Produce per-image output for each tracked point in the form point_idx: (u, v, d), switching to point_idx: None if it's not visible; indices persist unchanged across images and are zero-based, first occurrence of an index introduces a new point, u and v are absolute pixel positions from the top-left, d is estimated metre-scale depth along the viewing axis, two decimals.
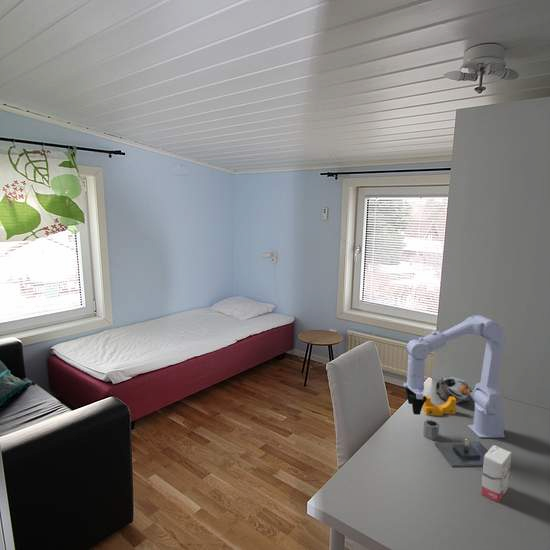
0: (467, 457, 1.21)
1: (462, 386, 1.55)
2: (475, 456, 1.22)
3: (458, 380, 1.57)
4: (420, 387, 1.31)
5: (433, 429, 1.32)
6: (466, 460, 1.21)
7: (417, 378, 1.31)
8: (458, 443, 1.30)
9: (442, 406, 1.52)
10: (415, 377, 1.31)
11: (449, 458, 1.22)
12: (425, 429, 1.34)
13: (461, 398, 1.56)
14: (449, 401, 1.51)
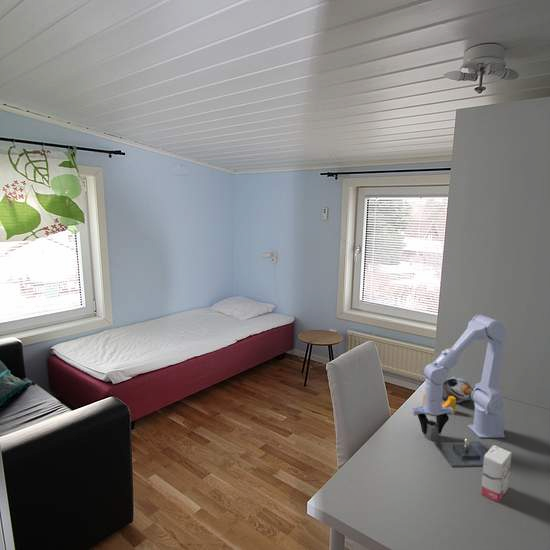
0: (467, 457, 1.21)
1: (464, 386, 1.56)
2: (475, 456, 1.22)
3: (460, 380, 1.57)
4: (427, 410, 1.32)
5: (433, 429, 1.32)
6: (466, 460, 1.21)
7: (425, 399, 1.33)
8: (458, 443, 1.30)
9: (442, 405, 1.53)
10: (425, 397, 1.34)
11: (449, 458, 1.22)
12: None
13: (463, 398, 1.56)
14: (449, 400, 1.52)
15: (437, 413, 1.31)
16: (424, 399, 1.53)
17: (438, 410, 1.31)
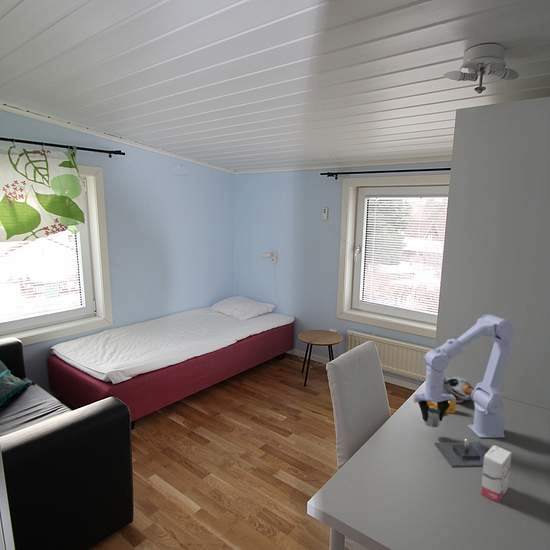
0: (467, 457, 1.21)
1: (465, 386, 1.56)
2: (475, 456, 1.22)
3: (461, 380, 1.57)
4: (427, 396, 1.32)
5: (434, 416, 1.32)
6: (466, 460, 1.21)
7: (426, 386, 1.32)
8: (458, 443, 1.30)
9: None
10: None
11: (449, 458, 1.22)
12: None
13: (464, 398, 1.56)
14: None
15: (438, 400, 1.30)
16: None
17: (439, 397, 1.30)
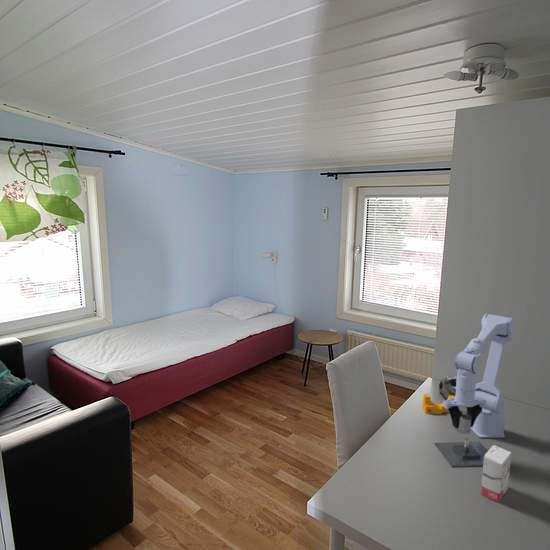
0: (467, 457, 1.21)
1: None
2: (475, 456, 1.22)
3: None
4: (459, 401, 1.22)
5: (466, 422, 1.22)
6: (466, 460, 1.21)
7: (457, 390, 1.22)
8: (458, 443, 1.30)
9: (442, 405, 1.53)
10: (456, 388, 1.23)
11: (449, 458, 1.22)
12: None
13: None
14: None
15: (471, 404, 1.21)
16: (424, 398, 1.53)
17: (472, 401, 1.21)
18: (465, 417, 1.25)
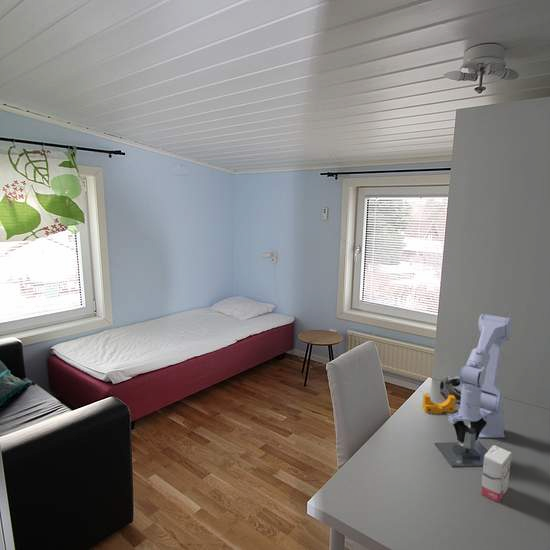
0: (467, 457, 1.21)
1: None
2: (475, 456, 1.22)
3: None
4: (465, 416, 1.21)
5: (472, 436, 1.21)
6: (466, 460, 1.21)
7: (463, 404, 1.21)
8: (458, 443, 1.30)
9: (441, 404, 1.53)
10: (461, 403, 1.22)
11: (449, 458, 1.22)
12: None
13: None
14: (448, 399, 1.53)
15: (477, 419, 1.20)
16: (424, 398, 1.54)
17: (477, 415, 1.20)
18: (469, 431, 1.25)
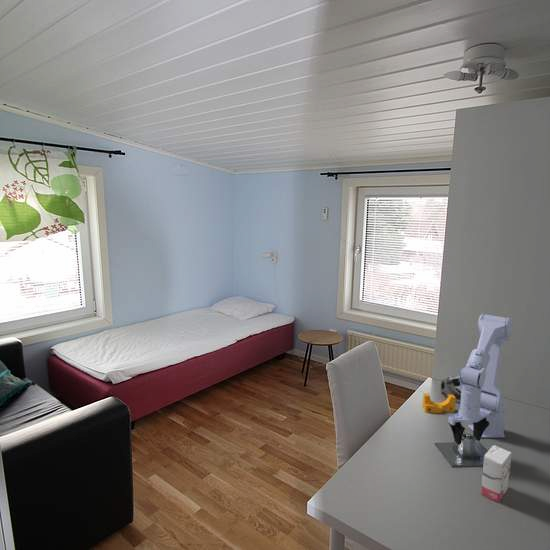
0: (467, 457, 1.21)
1: None
2: (475, 456, 1.22)
3: None
4: (465, 417, 1.21)
5: (471, 443, 1.21)
6: (466, 460, 1.21)
7: (462, 405, 1.21)
8: None
9: (441, 404, 1.54)
10: (461, 404, 1.22)
11: (449, 458, 1.22)
12: (462, 443, 1.23)
13: None
14: (448, 399, 1.53)
15: (477, 420, 1.20)
16: (424, 397, 1.54)
17: (477, 416, 1.20)
18: (469, 437, 1.25)
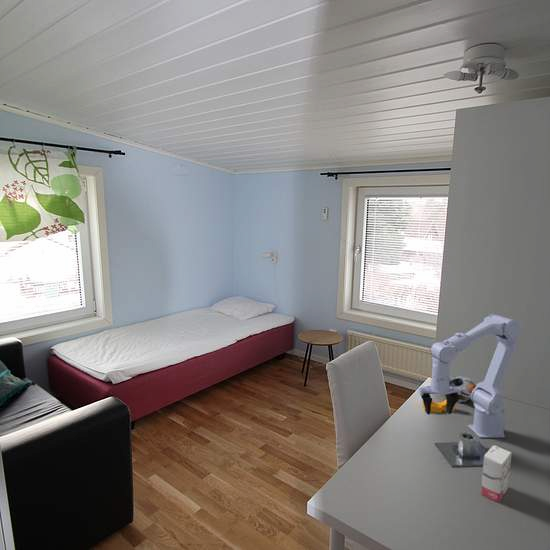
0: (467, 457, 1.21)
1: (470, 385, 1.56)
2: (475, 456, 1.22)
3: (465, 379, 1.58)
4: (434, 389, 1.30)
5: (471, 443, 1.21)
6: (466, 460, 1.21)
7: (432, 378, 1.30)
8: (458, 443, 1.30)
9: (441, 403, 1.54)
10: None
11: (449, 458, 1.22)
12: (462, 443, 1.23)
13: (469, 397, 1.57)
14: None
15: (444, 392, 1.28)
16: None
17: (445, 389, 1.28)
18: (469, 437, 1.25)
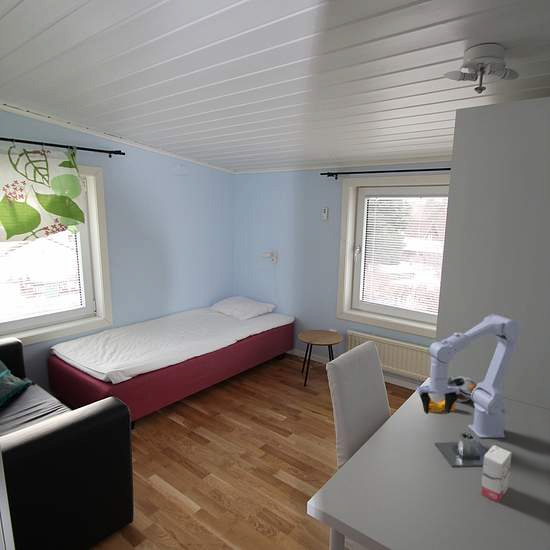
0: (467, 457, 1.21)
1: (471, 385, 1.56)
2: (475, 456, 1.22)
3: (466, 379, 1.58)
4: (432, 388, 1.30)
5: (471, 443, 1.21)
6: (466, 460, 1.21)
7: (431, 378, 1.31)
8: (458, 443, 1.30)
9: (441, 403, 1.54)
10: (430, 376, 1.32)
11: (449, 458, 1.22)
12: (462, 443, 1.23)
13: (470, 397, 1.57)
14: None
15: (443, 392, 1.29)
16: None
17: (444, 389, 1.29)
18: (469, 437, 1.25)
